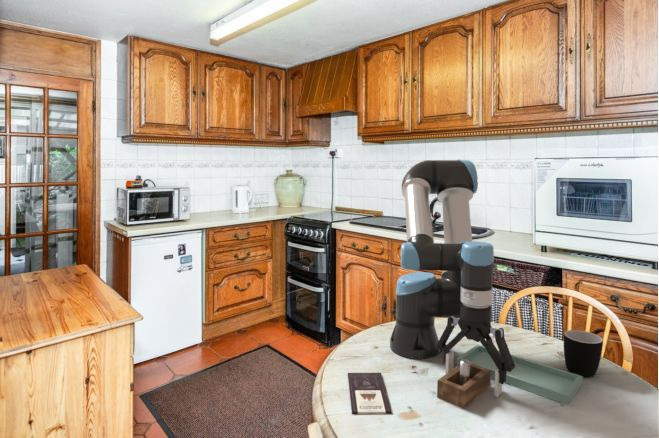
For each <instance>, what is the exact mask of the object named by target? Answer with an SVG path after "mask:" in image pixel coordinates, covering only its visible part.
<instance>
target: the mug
mask: <svg viewBox="0 0 659 438" xmlns="http://www.w3.org/2000/svg"><path fill="white" fill-rule="evenodd" d="M603 346H604V339H603V338H602V337H601V336H599V335H598V334H596V333H592V332H589V331H585V330H581V329H579V330H577V329H572V330H570V329H569V330H566V331H564V334H563V357H564V363H565V367H566V370H567V372H570V373H574V374H577V375H580V376H583V378H592V377H594V376H595V375H596V374H597V372H598V369H599V366H600V362H601V359H602V358H601V357H602V352H603Z"/></svg>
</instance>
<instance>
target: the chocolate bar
mask: <svg viewBox="0 0 659 438" xmlns="http://www.w3.org/2000/svg"><path fill="white" fill-rule="evenodd" d="M347 378H348V379H347V380H348V381H347V382H348V388H349V391H348V392H349V398H350V399H349V400H350V409H351V414H352V415H376V414H377V415H380V414H386V415H389V414H392V409H391V404H390V401H389V398H388V394H387V390H386V387H385V384H384V383H385V382H384V379H383V375H382V372H348V373H347Z"/></svg>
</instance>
